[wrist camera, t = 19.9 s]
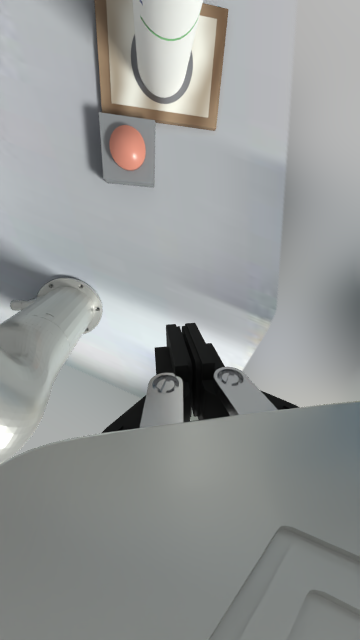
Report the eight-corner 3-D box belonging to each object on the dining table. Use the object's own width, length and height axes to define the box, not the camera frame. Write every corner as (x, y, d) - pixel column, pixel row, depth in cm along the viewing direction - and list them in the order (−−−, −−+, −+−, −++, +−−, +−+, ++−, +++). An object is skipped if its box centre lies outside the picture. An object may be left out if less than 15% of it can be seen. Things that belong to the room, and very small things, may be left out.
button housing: (107, 183, 36) (103, 178, 33) (103, 123, 33) (98, 112, 30) (154, 187, 37) (154, 183, 34) (154, 130, 34) (155, 120, 31)
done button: (114, 172, 35) (110, 167, 31) (112, 132, 32) (108, 122, 29) (146, 176, 35) (145, 170, 32) (145, 137, 33) (145, 127, 30)
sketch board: (103, 114, 32) (101, 111, 31) (94, -16, 27) (92, -24, 26) (214, 130, 35) (216, 128, 34) (226, 14, 30) (228, 8, 29)
